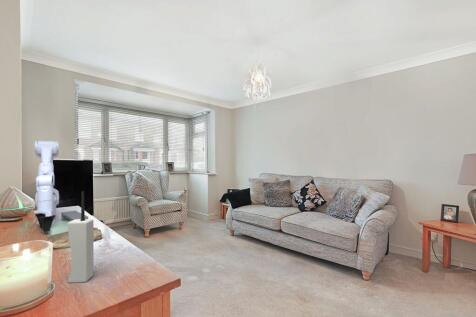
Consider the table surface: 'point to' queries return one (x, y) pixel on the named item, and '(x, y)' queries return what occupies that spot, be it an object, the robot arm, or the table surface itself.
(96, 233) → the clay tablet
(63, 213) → the hood
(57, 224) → the mint green slab
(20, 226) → the table surface
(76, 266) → the vintage mobile phone
